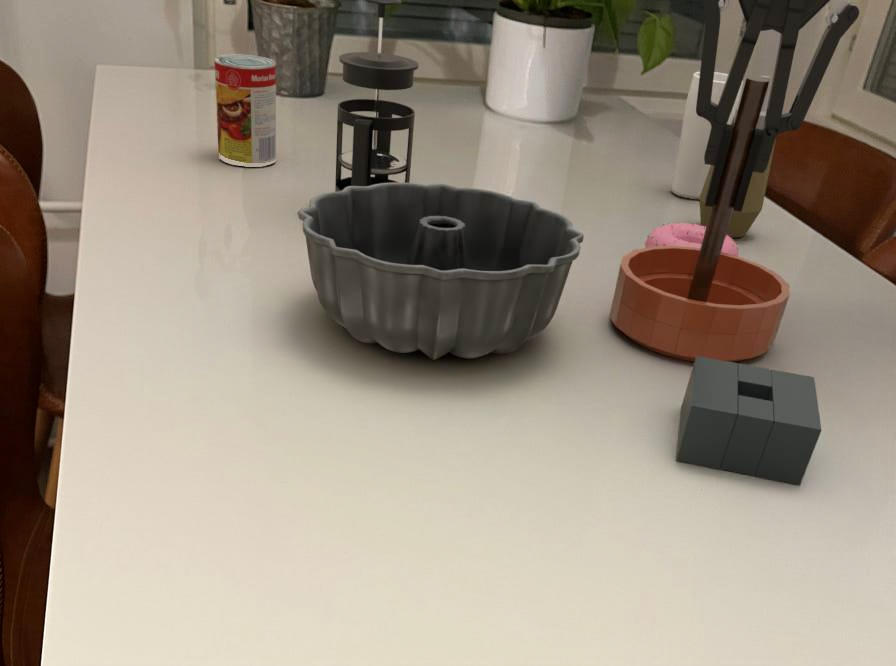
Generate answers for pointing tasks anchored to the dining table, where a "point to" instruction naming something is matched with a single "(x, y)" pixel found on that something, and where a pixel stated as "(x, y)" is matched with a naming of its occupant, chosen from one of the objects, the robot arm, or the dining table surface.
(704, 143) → the drinking glass
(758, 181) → the squeeze bottle
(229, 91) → the canned food
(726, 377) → the holder
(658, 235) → the doughnut
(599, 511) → the dining table surface
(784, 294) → the bowl
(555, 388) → the dining table surface
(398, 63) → the french press
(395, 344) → the bundt pan
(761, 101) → the stick
